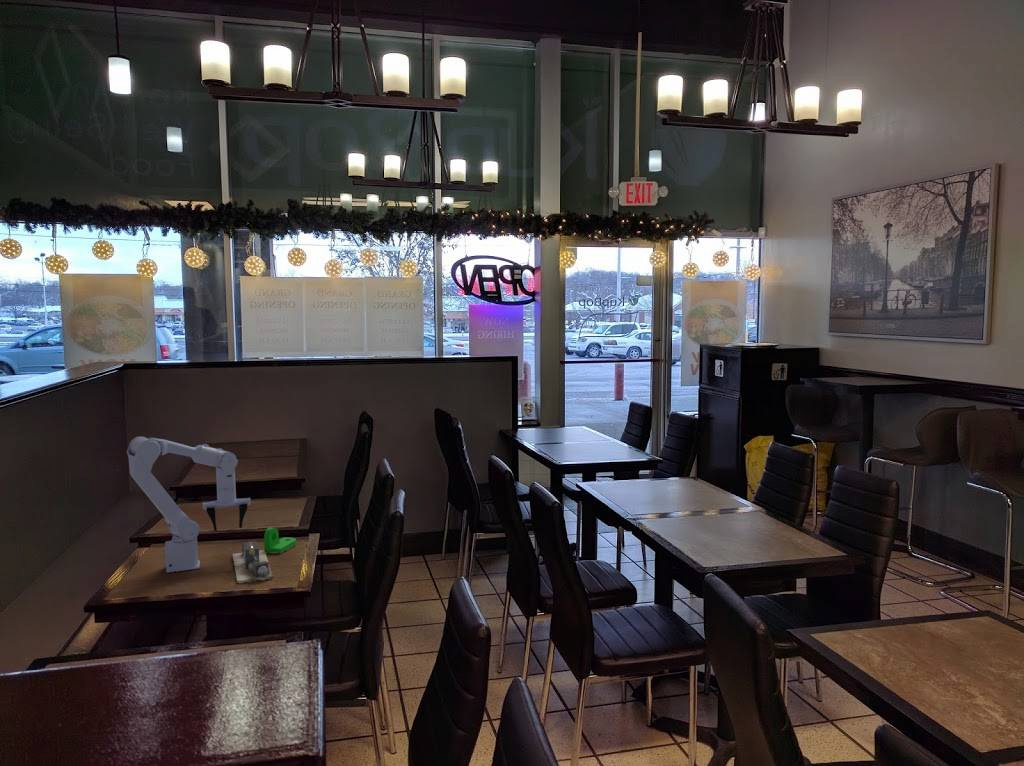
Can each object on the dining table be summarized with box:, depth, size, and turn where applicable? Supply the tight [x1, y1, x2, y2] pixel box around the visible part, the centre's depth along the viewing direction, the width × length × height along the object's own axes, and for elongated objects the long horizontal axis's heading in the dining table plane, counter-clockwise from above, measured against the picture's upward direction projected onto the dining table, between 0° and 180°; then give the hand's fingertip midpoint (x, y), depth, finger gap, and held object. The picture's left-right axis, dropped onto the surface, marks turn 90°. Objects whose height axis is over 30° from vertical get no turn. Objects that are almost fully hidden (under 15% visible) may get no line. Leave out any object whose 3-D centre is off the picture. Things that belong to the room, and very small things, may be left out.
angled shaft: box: [248, 561, 270, 577], centre depth 224 cm, size 8×4×4 cm, turn 43°
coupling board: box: [232, 549, 274, 584], centre depth 233 cm, size 10×28×1 cm, turn 23°
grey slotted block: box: [242, 541, 260, 569], centre depth 232 cm, size 4×9×6 cm, turn 23°
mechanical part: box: [263, 527, 297, 553], centre depth 252 cm, size 12×6×8 cm, turn 166°
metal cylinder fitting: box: [241, 541, 249, 555], centre depth 242 cm, size 8×4×4 cm, turn 23°
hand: (228, 528), depth 242 cm, fingers open, 7 cm apart
